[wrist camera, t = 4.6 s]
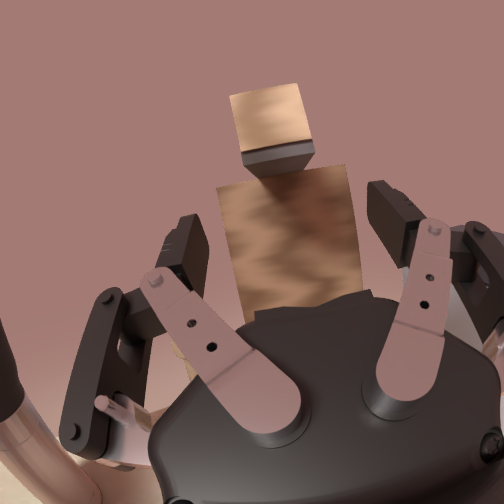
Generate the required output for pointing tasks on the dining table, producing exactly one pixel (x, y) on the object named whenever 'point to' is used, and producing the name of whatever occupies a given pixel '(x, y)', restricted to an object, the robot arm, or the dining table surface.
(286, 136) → the stamp
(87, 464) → the dining table surface
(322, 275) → the shelf block
